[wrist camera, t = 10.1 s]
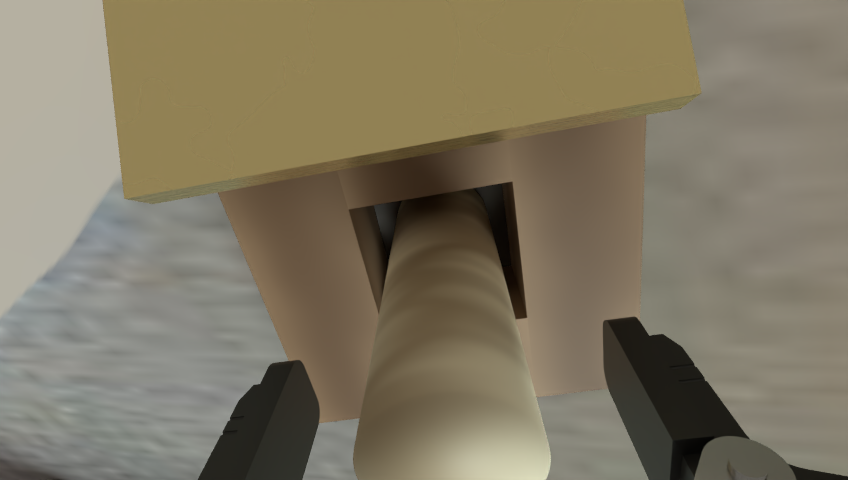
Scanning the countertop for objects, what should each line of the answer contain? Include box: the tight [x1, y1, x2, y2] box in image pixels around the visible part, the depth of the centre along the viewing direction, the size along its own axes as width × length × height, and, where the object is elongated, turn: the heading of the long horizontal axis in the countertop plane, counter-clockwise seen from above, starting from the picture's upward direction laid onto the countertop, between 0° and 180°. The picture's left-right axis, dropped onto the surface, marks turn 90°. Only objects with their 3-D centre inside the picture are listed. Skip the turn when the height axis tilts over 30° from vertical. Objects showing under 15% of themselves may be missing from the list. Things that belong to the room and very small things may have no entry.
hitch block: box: [218, 115, 646, 423], centre depth 16 cm, size 14×22×4 cm, turn 11°
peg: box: [353, 188, 551, 480], centre depth 14 cm, size 4×4×12 cm
